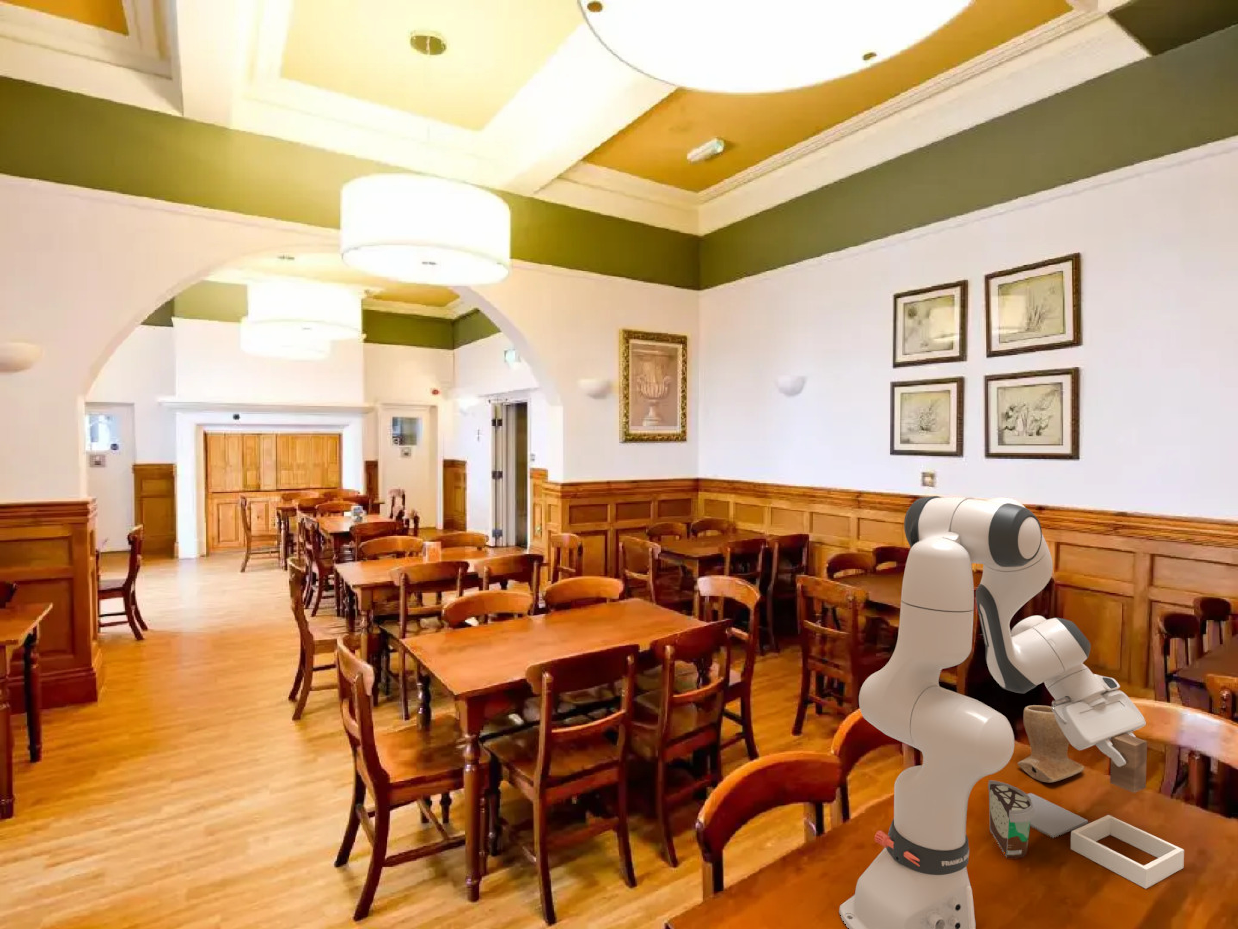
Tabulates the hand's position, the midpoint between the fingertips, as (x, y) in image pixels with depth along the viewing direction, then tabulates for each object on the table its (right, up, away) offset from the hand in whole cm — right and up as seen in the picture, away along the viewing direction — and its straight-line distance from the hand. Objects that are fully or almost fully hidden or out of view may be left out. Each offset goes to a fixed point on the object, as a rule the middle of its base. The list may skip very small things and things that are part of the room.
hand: (1132, 761), depth 126 cm
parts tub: (0, -19, +1) cm, 19 cm away
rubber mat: (-7, -19, +16) cm, 25 cm away
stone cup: (+6, -18, +34) cm, 39 cm away
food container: (-19, -19, +6) cm, 28 cm away
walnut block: (0, -5, +1) cm, 5 cm away
